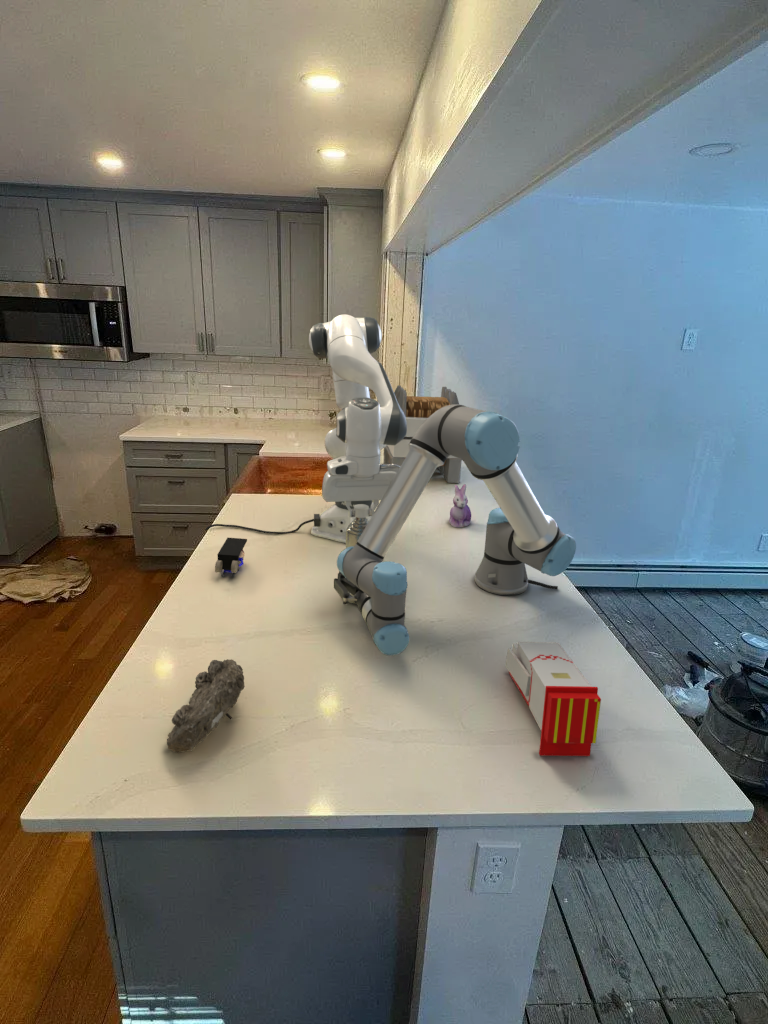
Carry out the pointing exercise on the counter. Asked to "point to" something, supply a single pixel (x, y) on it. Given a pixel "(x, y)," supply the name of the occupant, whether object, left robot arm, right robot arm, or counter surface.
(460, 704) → the counter surface
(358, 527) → the silver ridged cylinder
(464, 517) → the figurine
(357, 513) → the cap
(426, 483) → the right robot arm
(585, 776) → the counter surface
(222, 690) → the fossil
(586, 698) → the toy
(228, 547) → the figurine character
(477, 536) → the counter surface
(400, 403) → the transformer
